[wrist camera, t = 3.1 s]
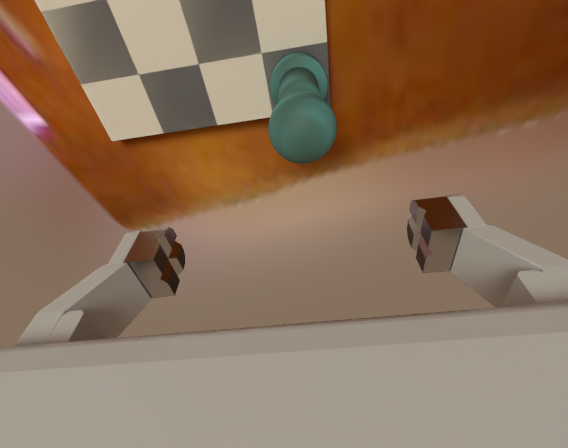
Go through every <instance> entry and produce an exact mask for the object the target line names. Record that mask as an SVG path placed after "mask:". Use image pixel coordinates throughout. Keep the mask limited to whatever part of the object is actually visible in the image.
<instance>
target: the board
mask: <svg viewBox="0 0 568 448" xmlns="http://www.w3.org/2000/svg"><path fill="white" fill-rule="evenodd" d="M35 2H36V4H37V6H38V7H39V9H40V11H41V13H42V15H43V17H44V18H45V20H46V22H47V24H48V26H49V27H50V29H51V31H52V33H53V35H54V37H55V38H56V40H57V42H58V44H59V46H60V47H61V49H62V51H63V53H64V55H65V57H66V58H67V60H68V62H69V64H70V66H71V68H72V69H73V71H74V73H75V75H76V77H77V78H78V80H79V82H80V84H81V86H82V88H83V89H84V91H85V93H86V95H87V97H88V98H89V100H90V102H91V104H92V106H93V108H94V109H95V111H96V113H97V115H98V117H99V118H100V120H101V122H102V124H103V126H104V128H105V129H106V131H107V133H108V135H109V137H110V138H111V140H112V141H116V140H123V139H130V138H136V137H143V136H149V135H156V134H163V133H169V132H176V131H183V130H189V129H196V128H202V127H209V126H216V125H222V124H229V123H235V122H242V121H249V120H255V119H262V118H269V117H270V116H271V114H272V111H273V110H274V108H275V107H276V104H275V103H274V101H273V99H272V96H271V92H270V83H271V75H272V71H273V69H274V67H275V65H276V64H277V62H278V61H279V60H280V59H281V58H282V57H284V56H285V55H287V54H290V53H293V52H305V53H308V54H311V55H312V56H314V57H315V58H316V59H317V60H318V61H319V62H320V63H321V65H322V67H323V69H324V72H325V75H326V78H327V93H326V96H325V99H324V100H325V101H326V102H327V103H328V104H329V105H330V107H331V99H330V82H329V65H328V47H327V30H326V13H325V0H35Z"/></svg>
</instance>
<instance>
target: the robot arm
mask: <svg viewBox="0 0 568 448" xmlns="http://www.w3.org/2000/svg"><path fill="white" fill-rule="evenodd" d="M410 212H411V215H412V217H411V218H410V219H409V220H408V225H407V234H408V239H409V243H410V245H411V247H412V248H413V249H414V250H416V251H417V255H416V259H417V261H418V263H419V265H420V268H421V270H422V272H423V273H429V272H443V271H451V273H452V274H453V275H455V276H456V277H457V278H458V279H460V280H461V281H462V282H464V283H465V284H466V285H467V286H469V287H470V288H471V289H473V290H474V291H475V292H477V293H478V294H479V295H480V296H482V297H483V298H484V299H486V300H487V301H488V302H489V303H491V304H492V305H493V306H495V307H496V308H485V309H474V310H461V311H448V312H436V313H424V314H410V315H398V316H385V317H372V318H360V319H347V320H335V321H322V322H311V323H297V324H284V325H272V326H259V327H247V328H234V329H222V330H211V331H210V330H209V331H197V332H185V333H172V334H160V335H147V336H135V337H122V338H117V337H118V336H119V335H120V334H121V333H122V332H123V330H125V328H126V327H127V326H128V325H129V324H130V323H131V322H132V321H133V320H134V318H135V317H136V316H137V315H138V314H139V313H140V312H141V311H142V310H143V309H144V307H145V306H146V305H147V304H148V303H149V302H150V301H151V298H158V297H167V296H175V294H176V290H177V288H178V285H179V281H180V280H179V278H178V275H179V274H180V273H181V272H182V271H183V269H184V265H185V254H184V250H183V248H182V245H181V244H179V243H177V242H176V241H175V239H176V236H177V235H176V234H175V232H174V230H173V229H172V228H170V227H168V228H157V229H146V230H137V231H129V232H127V233H126V234H125V236H124V237H123V239H122V241H121V243H120V244H119V246H118V248H117V250H116V251H115V253H114V255H113V256H112V258H111V260H110V261H109V263H108V265H103V266H102V267H100V268H99V269H97V270H96V271H95V272H93V273H92V274H90V275H89V276H88V277H86V278H85V279H83V280H82V281H81V282H79V283H78V284H77V285H75V286H74V287H72V288H71V289H70V290H68V291H67V292H66V293H64V294H63V295H61V296H60V297H59V298H57V299H56V300H54V301H53V302H52V303H50V304H49V305H48V306H46V307H45V308H43V309H42V310H41V311H39V312H38V313H37V314H36V316H35V317H34V318H33V320H32V321H31V323H30V324H29V326H28V327H27V328H26V330H25V332H24V333H23V334H22V335H21V337H20V338H19V340H18V341H17V343H16V344H15V345H14V346H9V347H0V448H568V259H565V258H563V257H561V256H559V255H556V254H554V253H552V252H550V251H548V250H546V249H544V248H541V247H539V246H537V245H534V244H533V243H530V242H528V241H526V240H524V239H522V238H519V237H517V236H515V235H513V234H511V233H508V232H506V231H504V230H502V229H500V228H498V227H495V226H493V225H490V226H487V224H486V223H485V222H484V221H483V219H482V218H481V217H480V216H479V214H478V213H477V212H476V211H475V209H474V208H473V207H472V205H471V204H470V203H469V201H468V200H467V199H466V198H465V196H464V195H462V194H456V195H449V196H444V197H438V198H429V199H420V200H412V202H411V204H410Z"/></svg>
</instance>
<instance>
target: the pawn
mask: <svg viewBox="0 0 568 448" xmlns="http://www.w3.org/2000/svg"><path fill="white" fill-rule="evenodd" d="M270 92H271V96H272V99H273V101H274V103H275V104H276V107H275V108H274V110H273V111H272V114H271V116H270V120H269V125H268V131H269V137H270V141H271V143H272V145H273V147H274V149H275V150H276V151H277V153H278V154H279V155H280V156H282V157H283V158H285V159H286V160H288V161H291V162H294V163H299V164H304V163H311V162H314V161H316V160H318V159H320V158H321V157H322V156H324V155H325V154H326V153H327V152H328V151H329V149H330V148H331V146H332V145H333V142H334V140H335V137H336V131H337V124H336V118H335V115H334V112H333V110H332V108H331V107H330V105H329V104H328V103H327V102H326V101H325V100H324V99H325V96H326V93H327V78H326V75H325V72H324V69H323V67H322V65H321V63H320V62H319V61H318V60H317V59H316V58H315V57H314V56H312V55H311V54H308V53H305V52H293V53H290V54H287V55H285V56H284V57H282V58H281V59H280V60H279V61H278V62H277V64H276V65H275V67H274V69H273V71H272V75H271V83H270Z"/></svg>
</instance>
